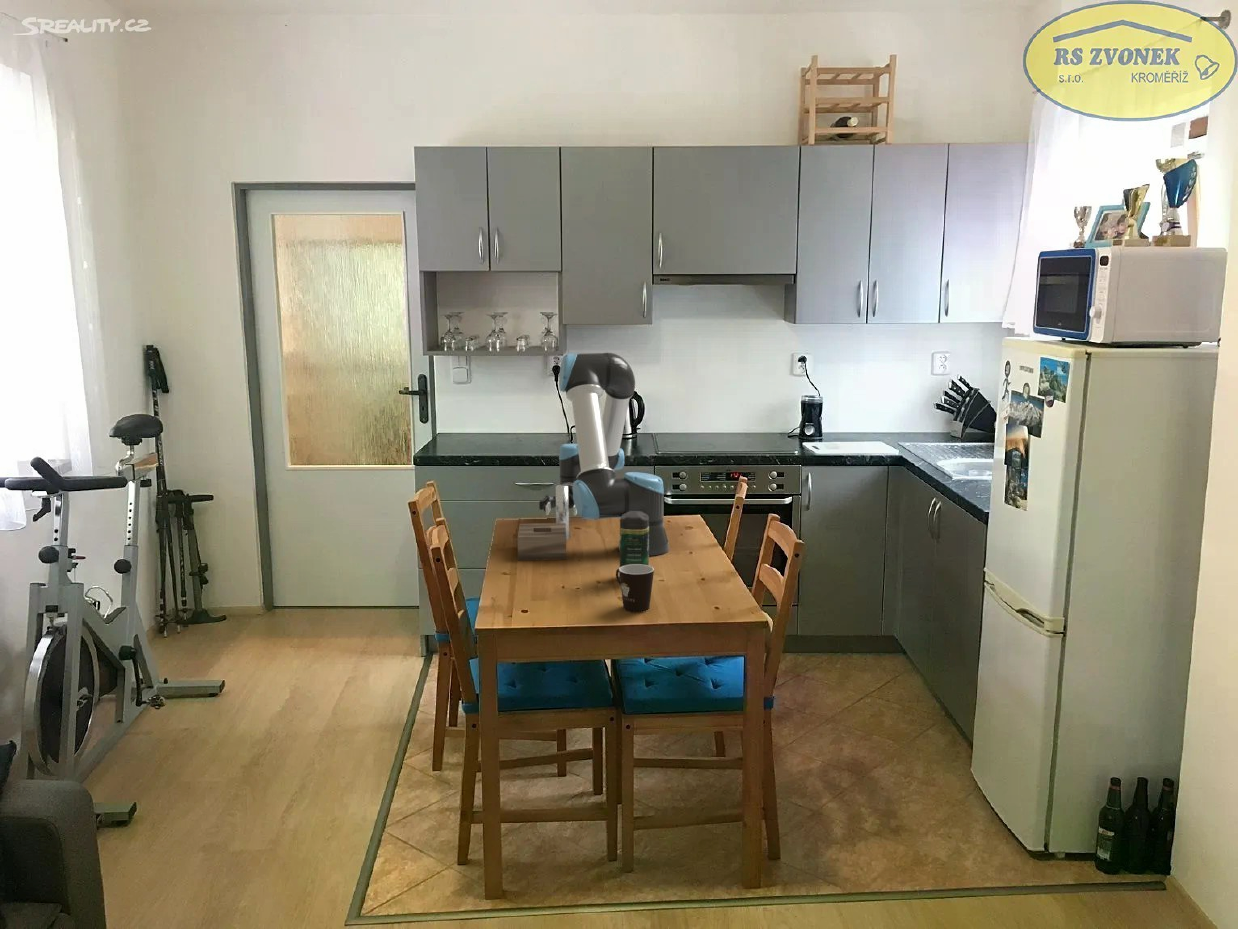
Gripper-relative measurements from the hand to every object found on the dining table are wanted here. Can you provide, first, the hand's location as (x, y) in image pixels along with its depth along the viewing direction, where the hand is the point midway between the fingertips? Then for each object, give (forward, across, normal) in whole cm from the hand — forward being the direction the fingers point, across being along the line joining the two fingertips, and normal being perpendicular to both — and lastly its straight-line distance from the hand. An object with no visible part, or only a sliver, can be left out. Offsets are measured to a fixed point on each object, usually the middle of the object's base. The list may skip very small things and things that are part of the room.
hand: (560, 511), depth 299 cm
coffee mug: (+61, -25, -10) cm, 66 cm away
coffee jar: (+38, -24, -10) cm, 46 cm away
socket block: (+12, +4, -10) cm, 16 cm away
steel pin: (-5, 0, -10) cm, 11 cm away
